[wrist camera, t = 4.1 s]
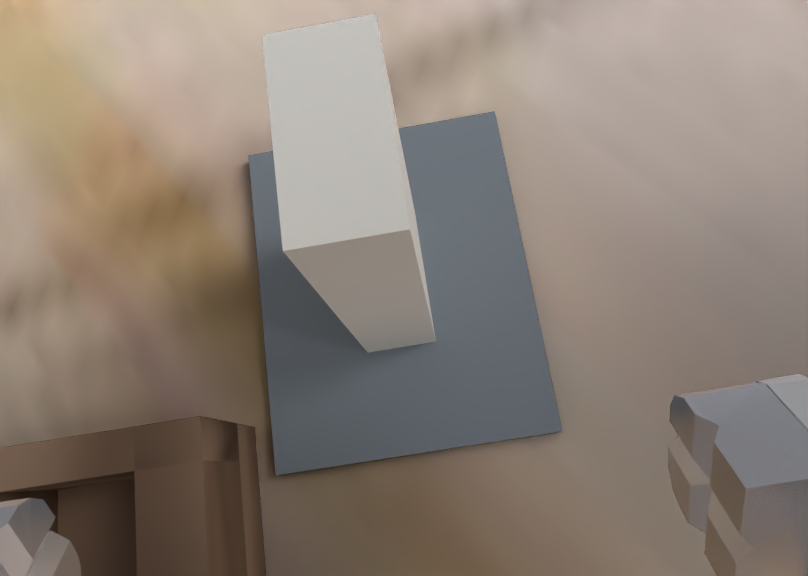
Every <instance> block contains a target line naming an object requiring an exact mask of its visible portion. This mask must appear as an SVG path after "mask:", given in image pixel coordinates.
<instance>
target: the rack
mask: <svg viewBox="0 0 808 576" xmlns="http://www.w3.org/2000/svg"><path fill="white" fill-rule="evenodd" d="M25 498H35V499H43V500H44V501H45V503H46V504H47V506H48V507H49V508H50V510H51V511H52V513H53V514H54V516H55V517H56V518H55V521H54V524H53V527H52V531H53V532H55V533H57V534H59V535H61V536H62V537H64V538H66V539H68V540H70V542H71V543H72V545H73V547H74V548H75V550H76V552H77V553H78V557H79V562H80V566H81V570H82V571H81V576H266V569H265V556H264V543H263V530H262V518H261V505H260V492H259V479H258V466H257V453H256V440H255V427H252V426H247V425H242V424H237V423H232V422H227V421H222V420H217V419H212V418H207V417H202V416H197V417H191V418H185V419H178V420H172V421H166V422H160V423H153V424H147V425H141V426H135V427H128V428H122V429H116V430H109V431H103V432H97V433H91V434H84V435H78V436H72V437H65V438H59V439H53V440H47V441H40V442H34V443H28V444H22V445H15V446H9V447H3V448H0V502H3V501H10V500H18V499H25Z"/></svg>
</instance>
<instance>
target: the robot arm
mask: <svg viewBox="0 0 808 576" xmlns="http://www.w3.org/2000/svg"><path fill="white" fill-rule="evenodd" d="M670 422H671V424H672V425H673V427H674V429H675V430H676V432H677V434H678V435H679V436H678V437H677V438H676V439H675V440H674V442H673V443H672V444H671V445H670V446H669V448H668V468H669V473H670V478H671V483H672V487H673V491H674V493H675V496H676V499H677V501H678V504H679V506H680V508H681V510H682V512H683V514H684V516H685V518H686V520H687V522H688V523H690V524H691V525H693V526H694V527H696V528H698V529H699V530H701V531H702V532H704V533H706V541H705V555H706V557H707V558H708V560H709V562H710V564H711V566H712V567H713V569H714V571H715V573H716V575H717V576H808V377H806V376H803V375H801V374H794V375H788V376H783V377H777V378H771V379H766V380H760V381H757V382H755V383H746V384H740V385H734V386H728V387H722V388H716V389H710V390H704V391H698V392H692V393H686V394H680V395H674V397H673V400H672V402H671V405H670ZM55 518H56V517H55V516H54V514H53V513H52V511H51V510H50V508H49V507H48V506H47V504H46V503H45V501H44V500H43V499H35V498H25V499H18V500H10V501H3V502H0V576H81V571H82V570H81V566H80V562H79V557H78V553H77V552H76V550H75V548H74V547H73V545H72V543H71V542H70V540H68V539H66V538H64V537H62V536H61V535H59V534H57V533H55V532H53V531H52V527H53V524H54V521H55Z"/></svg>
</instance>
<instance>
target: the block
mask: <svg viewBox="0 0 808 576" xmlns="http://www.w3.org/2000/svg"><path fill="white" fill-rule="evenodd" d="M262 43H263V53H264V64H265V74H266V84H267V94H268V105H269V115H270V125H271V136H272V146H273V156H274V166H275V177H276V187H277V197H278V208H279V218H280V228H281V238H282V249H283V252H284V253H285V254H286V256H287V257H288V258H289V259H290V260H291V262H292V263H293V264H294V265H295V266H296V268H297V269H298V270H299V271H300V272H301V273H302V275H303V276H304V277H305V278H306V279H307V281H308V282H309V283H310V284H311V285H312V287H313V288H314V289H315V290H316V291H317V293H318V294H319V295H320V296H321V297H322V299H323V300H324V301H325V302H326V303H327V305H328V306H329V307H330V308H331V309H332V311H333V312H334V313H335V314H336V315H337V317H338V318H339V319H340V320H341V321H342V323H343V324H344V325H345V326H346V327H347V329H348V330H349V331H350V332H351V333H352V334H353V336H354V337H355V338H356V339H357V340H358V342H359V343H360V344H361V345H362V346H363V348H364V349H365V350H366V351H367V352H368V353H369V352H375V351H381V350H388V349H394V348H400V347H406V346H412V345H418V344H425V343H431V342H436V339H435V332H434V326H433V320H432V314H431V308H430V302H429V296H428V289H427V283H426V277H425V271H424V265H423V259H422V253H421V246H420V240H419V234H418V228H417V222H416V216H415V210H414V205H413V200H412V195H411V190H410V185H409V180H408V175H407V170H406V165H405V160H404V155H403V150H402V144H401V139H400V134H399V129H398V124H397V119H396V114H395V109H394V104H393V99H392V94H391V89H390V84H389V78H388V73H387V68H386V63H385V58H384V53H383V48H382V43H381V38H380V33H379V28H378V23H377V18H376V14H370V15H365V16H360V17H354V18H349V19H344V20H338V21H333V22H328V23H322V24H317V25H312V26H306V27H301V28H296V29H290V30H285V31H280V32H274V33H269V34H264V35H262Z"/></svg>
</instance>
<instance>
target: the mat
mask: <svg viewBox="0 0 808 576" xmlns="http://www.w3.org/2000/svg"><path fill="white" fill-rule="evenodd" d="M399 134H400V139H401V144H402V150H403V155H404V160H405V165H406V170H407V175H408V180H409V185H410V190H411V195H412V200H413V205H414V210H415V216H416V222H417V228H418V234H419V240H420V246H421V253H422V259H423V265H424V271H425V277H426V283H427V289H428V296H429V302H430V308H431V314H432V320H433V326H434V332H435V339H436V342H431V343H425V344H418V345H412V346H406V347H400V348H394V349H388V350H381V351H375V352H369V353H368V352H367V351H366V350H365V349H364V348H363V346H362V345H361V344H360V343H359V342H358V340H357V339H356V338H355V337H354V336H353V334H352V333H351V332H350V331H349V330H348V329H347V327H346V326H345V325H344V324H343V323H342V321H341V320H340V319H339V318H338V317H337V315H336V314H335V313H334V312H333V311H332V309H331V308H330V307H329V306H328V305H327V303H326V302H325V301H324V300H323V299H322V297H321V296H320V295H319V294H318V293H317V291H316V290H315V289H314V288H313V287H312V285H311V284H310V283H309V282H308V281H307V279H306V278H305V277H304V276H303V275H302V273H301V272H300V271H299V270H298V269H297V268H296V266H295V265H294V264H293V263H292V262H291V260H290V259H289V258H288V257H287V256H286V254H285V253H284V252H283V249H282V238H281V228H280V218H279V208H278V197H277V187H276V177H275V166H274V156H273V151H271V152H265V153H260V154H254V155H249V167H250V179H251V191H252V202H253V214H254V226H255V238H256V249H257V261H258V273H259V285H260V296H261V308H262V320H263V332H264V344H265V355H266V367H267V379H268V391H269V402H270V414H271V426H272V438H273V450H274V461H275V473H276V475H283V474H290V473H296V472H303V471H309V470H316V469H322V468H329V467H335V466H342V465H348V464H355V463H361V462H368V461H374V460H381V459H387V458H394V457H400V456H407V455H413V454H420V453H426V452H433V451H439V450H446V449H452V448H459V447H465V446H472V445H478V444H485V443H491V442H498V441H504V440H511V439H517V438H524V437H530V436H537V435H543V434H550V433H556V432H561V431H562V428H561V423H560V418H559V413H558V409H557V404H556V399H555V395H554V390H553V385H552V380H551V376H550V371H549V366H548V361H547V357H546V352H545V347H544V343H543V338H542V333H541V328H540V324H539V319H538V314H537V309H536V305H535V300H534V295H533V291H532V286H531V281H530V276H529V272H528V267H527V262H526V257H525V253H524V248H523V243H522V239H521V234H520V229H519V224H518V220H517V215H516V210H515V205H514V201H513V196H512V191H511V187H510V182H509V177H508V172H507V168H506V163H505V158H504V154H503V149H502V144H501V139H500V135H499V130H498V125H497V120H496V116H495V112H489V113H483V114H478V115H472V116H467V117H461V118H456V119H450V120H444V121H439V122H433V123H428V124H422V125H416V126H411V127H405V128H400V129H399Z"/></svg>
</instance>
